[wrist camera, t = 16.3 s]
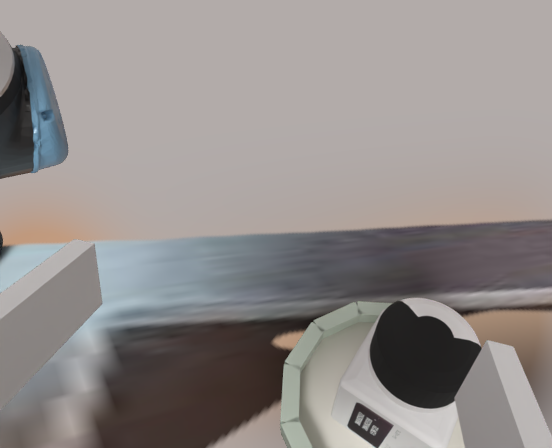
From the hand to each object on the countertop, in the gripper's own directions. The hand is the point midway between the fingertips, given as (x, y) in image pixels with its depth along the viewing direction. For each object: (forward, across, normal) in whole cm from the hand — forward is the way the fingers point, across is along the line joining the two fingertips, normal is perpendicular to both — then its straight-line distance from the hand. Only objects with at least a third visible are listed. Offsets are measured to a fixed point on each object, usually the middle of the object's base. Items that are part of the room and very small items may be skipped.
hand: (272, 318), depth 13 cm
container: (+14, +10, -20) cm, 26 cm away
